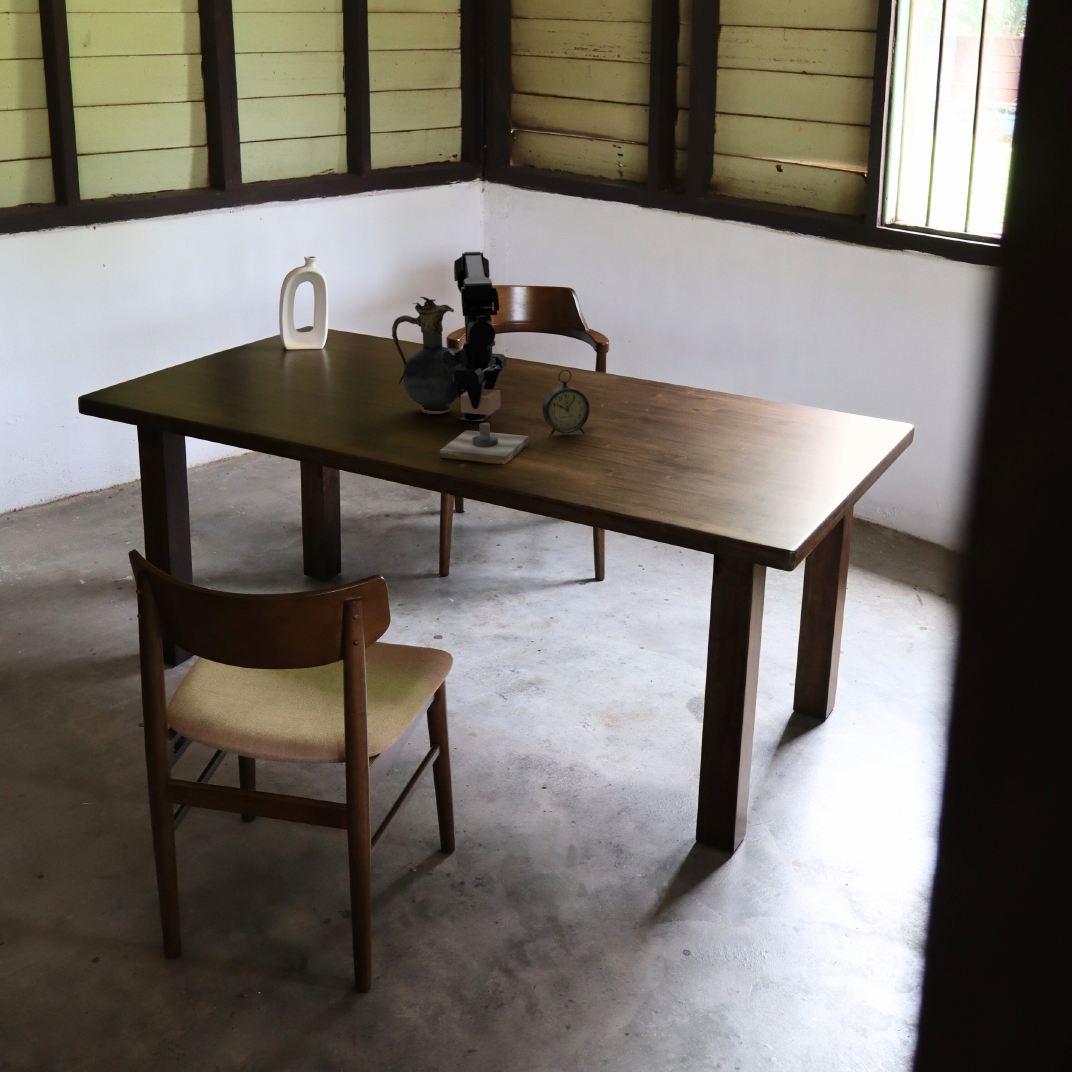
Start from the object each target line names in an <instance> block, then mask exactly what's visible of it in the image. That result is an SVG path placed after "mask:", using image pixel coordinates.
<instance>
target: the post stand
mask: <svg viewBox="0 0 1072 1072" xmlns="http://www.w3.org/2000/svg"><path fill="white" fill-rule="evenodd" d="M529 437H530V436H528V435H521V434H520V435H518V434H511V433H509V434H508V433H499V432H491V425H490V423H488V422H480V423H479V431H478V430H467V429H466V430H464V431H463V432H462V433H460V434H459V435H458V436H457V437H456V438H454V439H453V440H451V441H450V442H448V443H447V444H446V445H444V447H442V448H441V449H440V450H439V451H440V453H448V454H454V455H464V456H470V457H478V458H488V459H495V460H502V461H503V460H504V461H506V460H507V459H508V458H510V457H511V456H512V455H513V454H514V453H515V452H517V451H518V450H519V449H520V448H522V446H524V445H525V444H526V443H528V442H529V443H530V441H529V440H530V439H529Z"/></svg>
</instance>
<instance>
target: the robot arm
mask: <svg viewBox="0 0 1072 1072" xmlns="http://www.w3.org/2000/svg"><path fill="white" fill-rule="evenodd" d="M453 263H454V264H453V266H454V267H453V277H454V278H453V279H454V282H456V286H457V289H458V291H459V293H460V296H461V301H460V302H461V309H462V310H461V311H462V312H461V313H462V317H464V336H465V338H464V340H465V341H464V343H463V345H462V347H461V348H457V349H455V350H453V349H449V351H445V352H443V357H442V359H443V360H442V363H443V364H445V365H446V366H447V369H450V368H452V367H453V366H456V365H459V364H461V365H460V368H459V369H457V370H456V371H455V372H454V373H453V382H456V383H458V398H460V399H461V395H462V394H464V393H465V392H467V393H468V396H469V399H470V401H471V404H472V407H473V409H477V408H478V406H479V403H480V400H481V396H482V393H483V389H490V390H495V388H496V386H497V385H498V381H499V379H500V377H501V375H502V373H503V371H504V369H505V368H506V367H508V365H507V357H506V356H505V354H503V353H495V352H493V347H494V346H496V340H495V339H496V330H495V328H494V325H493V322H492V321H493V320H492V319H493V317H492V316H498V311H500V302H499V301H500V300H499V291H498V290H497V288H496V286H493V281H492V279H491V278H490V274H491V273H490V261H489V259H488V258H487V257H485V256H484V252H481V251H464V252H462V253H461V256H460V257H458V258H457V259H456V260H454V261H453ZM498 366H499V368H498ZM503 368H504V369H503ZM461 389H462V390H461ZM463 415H464V417H465V419H468V420H477V419H482V418H484V419H486V418H485V417H486V416H490V415H485V414H474V413H463ZM490 417H491V416H490ZM486 420H487V419H486Z"/></svg>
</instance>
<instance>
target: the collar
mask: <svg viewBox="0 0 1072 1072" xmlns="http://www.w3.org/2000/svg"><path fill="white" fill-rule="evenodd" d="M501 403H502V401H501V390H500V389H494V390H490V389H483V393H482V396H481V400H480V403H479V406H478V408H477V409H473V407H472V404H471V401H470V399H469V396H468V393H467V392H465V393H464V394H462V395H461V398H460V407H461V409H460V410H461V412H460V413H463V414H464V413H474V414H485V415H490V414H491V415H492V414H493V413H495V412H496V411H497V410H499V409H500V408H501V407H502V406H501Z"/></svg>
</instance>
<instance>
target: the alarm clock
mask: <svg viewBox="0 0 1072 1072" xmlns="http://www.w3.org/2000/svg"><path fill="white" fill-rule="evenodd" d="M563 372H568V373H569V375H570V376H569V379H568V380H563V381H562V380H561V378H560V376H561V374H562V373H563ZM572 376H573V374H572V372H571V371H570V370H569V369H562V370H561V371H560V372H559V373H558V376H557V378H558V380H559V382H560V383H561V384H562V386H557V387H555V388H554V389H552V390H551V391H550V392H549V393H547V395H546V396H545V398H544V399H543V403H542V409H541V410H542V416H543V419H544V421H545V422H546V423H547V424H548V426H549V427H551V428H552V430H551V432H550V434H548V437H549V436H551V437H552V436H553V435H554V433H555V432H559V433H560V434H561V433H562V434H571V433H575V432H577V431H578V430H579V431H580V432H581V433H582V434H583V435H584V434H585V433H586V431H585V430H584V429H583V428H582V427H583V426H584V425H585V424H586V422H587V421H588V419H589V416H590V411H591V410H590V403H589V400H588V398H587V396H586V395H585V394H584V393H583V392H582V391H580V390H578V388H575V387H572V386H569V385H567V383H569V382H570V381H571V380H572Z"/></svg>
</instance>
